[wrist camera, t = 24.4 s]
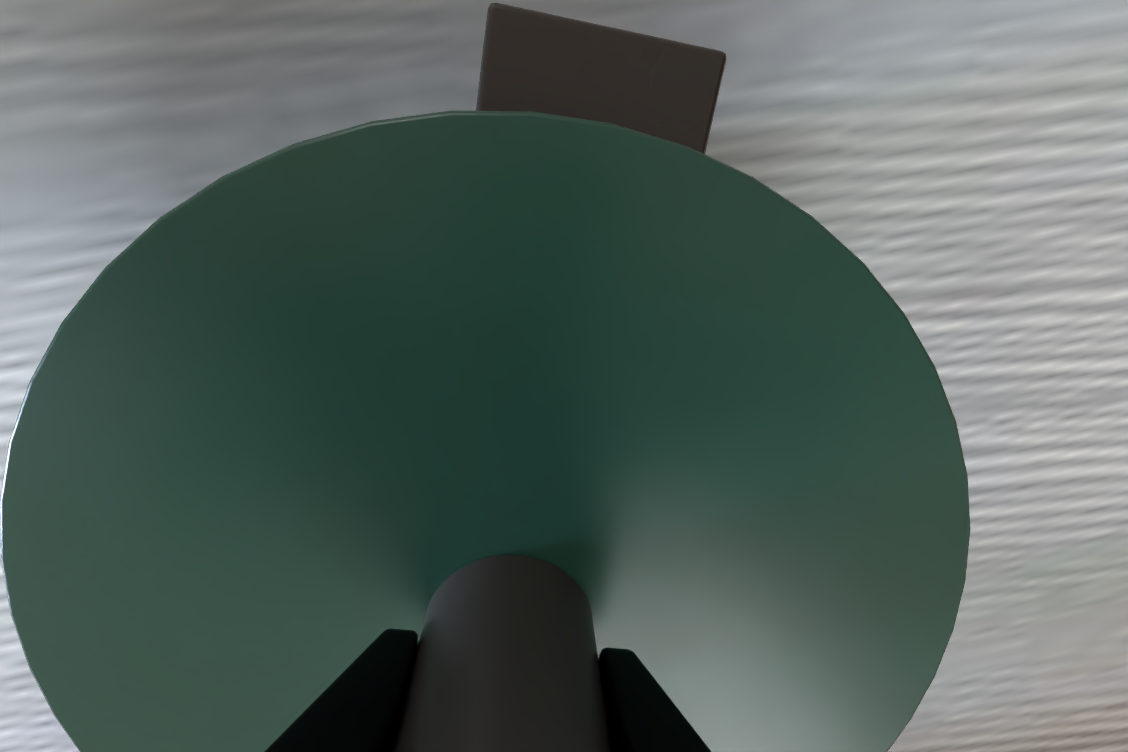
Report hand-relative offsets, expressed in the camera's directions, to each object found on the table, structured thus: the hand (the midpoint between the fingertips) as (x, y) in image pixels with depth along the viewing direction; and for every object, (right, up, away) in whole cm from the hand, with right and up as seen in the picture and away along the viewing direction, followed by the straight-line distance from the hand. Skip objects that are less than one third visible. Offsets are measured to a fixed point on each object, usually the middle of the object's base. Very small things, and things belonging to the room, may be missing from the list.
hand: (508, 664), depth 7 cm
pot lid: (0, 0, +1) cm, 1 cm away
